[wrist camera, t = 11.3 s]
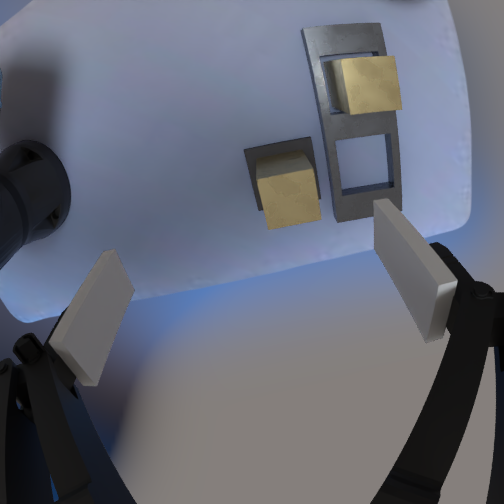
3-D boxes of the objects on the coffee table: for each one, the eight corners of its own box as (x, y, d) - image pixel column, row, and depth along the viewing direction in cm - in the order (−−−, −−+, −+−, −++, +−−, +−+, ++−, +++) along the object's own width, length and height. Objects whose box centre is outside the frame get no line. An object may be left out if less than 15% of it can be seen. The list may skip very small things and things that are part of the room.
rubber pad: (258, 209, 41) (258, 211, 40) (244, 149, 37) (243, 150, 36) (320, 197, 40) (321, 199, 39) (310, 136, 36) (310, 137, 35)
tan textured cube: (266, 200, 40) (268, 230, 33) (256, 158, 37) (256, 179, 30) (309, 191, 39) (321, 219, 32) (302, 149, 36) (313, 168, 29)
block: (331, 106, 34) (350, 114, 27) (323, 62, 31) (340, 59, 24) (375, 101, 33) (402, 109, 26) (367, 58, 30) (394, 55, 23)
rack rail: (334, 216, 41) (337, 222, 39) (300, 30, 29) (302, 28, 27) (396, 205, 40) (402, 211, 38) (374, 24, 28) (380, 22, 26)
